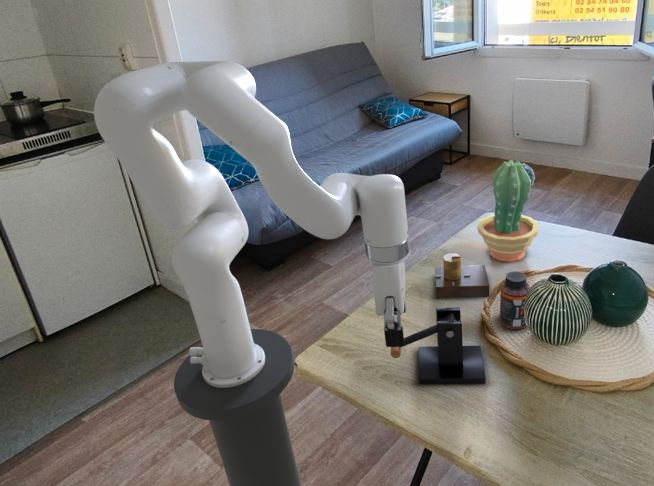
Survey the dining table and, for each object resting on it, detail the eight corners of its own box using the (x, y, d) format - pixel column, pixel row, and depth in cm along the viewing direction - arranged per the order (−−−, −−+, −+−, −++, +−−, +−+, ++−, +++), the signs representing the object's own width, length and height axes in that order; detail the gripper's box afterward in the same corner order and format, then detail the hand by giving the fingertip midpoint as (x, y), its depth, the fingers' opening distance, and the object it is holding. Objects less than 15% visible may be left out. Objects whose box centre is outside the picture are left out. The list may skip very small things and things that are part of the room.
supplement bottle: (524, 334, 102) (526, 287, 97) (496, 326, 105) (496, 280, 100) (532, 317, 106) (534, 271, 102) (504, 310, 109) (505, 266, 104)
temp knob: (444, 280, 116) (443, 261, 114) (443, 271, 120) (442, 252, 118) (461, 280, 116) (461, 260, 114) (460, 271, 120) (459, 251, 118)
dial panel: (436, 298, 116) (435, 286, 114) (434, 277, 124) (434, 266, 123) (489, 296, 114) (489, 284, 113) (484, 275, 123) (484, 264, 121)
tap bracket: (418, 384, 92) (415, 332, 87) (419, 351, 100) (415, 302, 95) (485, 383, 90) (485, 330, 86) (480, 350, 99) (479, 300, 94)
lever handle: (394, 360, 92) (388, 351, 92) (395, 342, 97) (389, 333, 96) (459, 334, 89) (453, 324, 88) (458, 317, 93) (452, 307, 93)
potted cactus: (544, 266, 124) (550, 171, 113) (481, 269, 125) (480, 175, 115) (530, 237, 138) (534, 150, 127) (473, 240, 139) (472, 154, 129)
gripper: (370, 225, 94) (379, 301, 101) (360, 275, 78) (372, 361, 85) (410, 222, 93) (417, 300, 100) (408, 272, 77) (416, 360, 84)
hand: (396, 328), depth 92 cm, fingers open, 9 cm apart
